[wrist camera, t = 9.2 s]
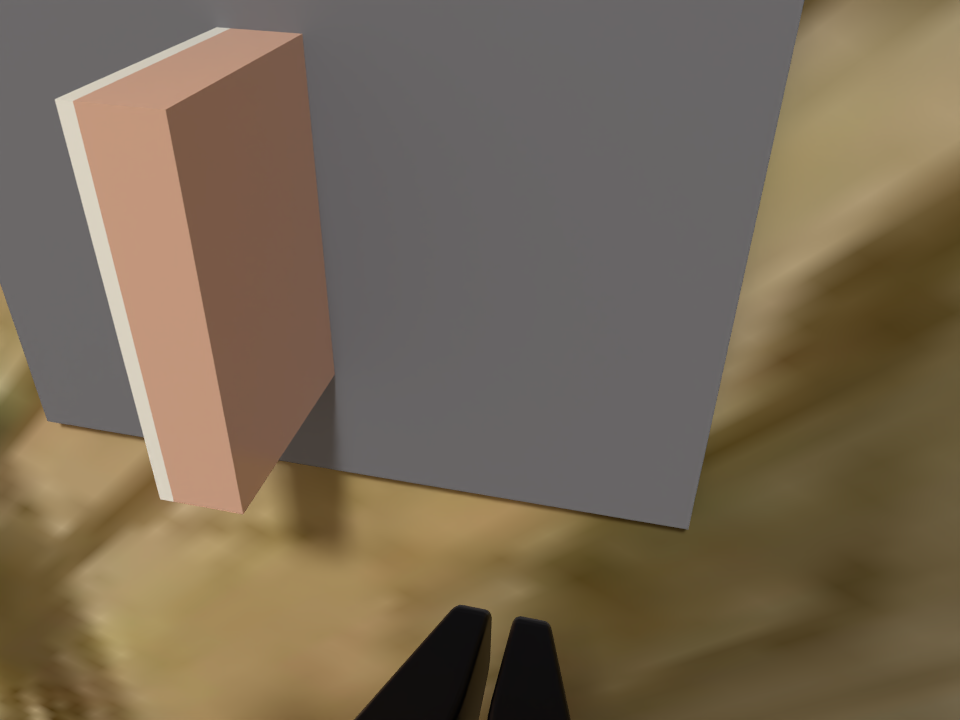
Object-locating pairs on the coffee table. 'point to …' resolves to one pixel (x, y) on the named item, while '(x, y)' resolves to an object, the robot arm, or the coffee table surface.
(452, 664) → the robot arm
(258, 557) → the coffee table surface
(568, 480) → the mat
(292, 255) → the tile
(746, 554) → the coffee table surface
